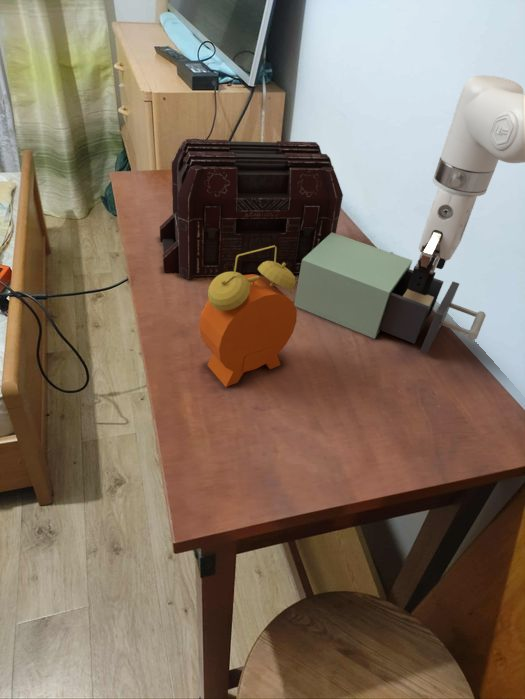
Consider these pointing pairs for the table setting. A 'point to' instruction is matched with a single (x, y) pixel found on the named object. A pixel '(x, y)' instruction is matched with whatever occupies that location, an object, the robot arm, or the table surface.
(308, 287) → the cabinet
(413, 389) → the table surface
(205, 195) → the crate
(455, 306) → the drawer
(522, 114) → the robot arm
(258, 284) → the alarm clock
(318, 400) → the table surface
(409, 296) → the block
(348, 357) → the table surface
